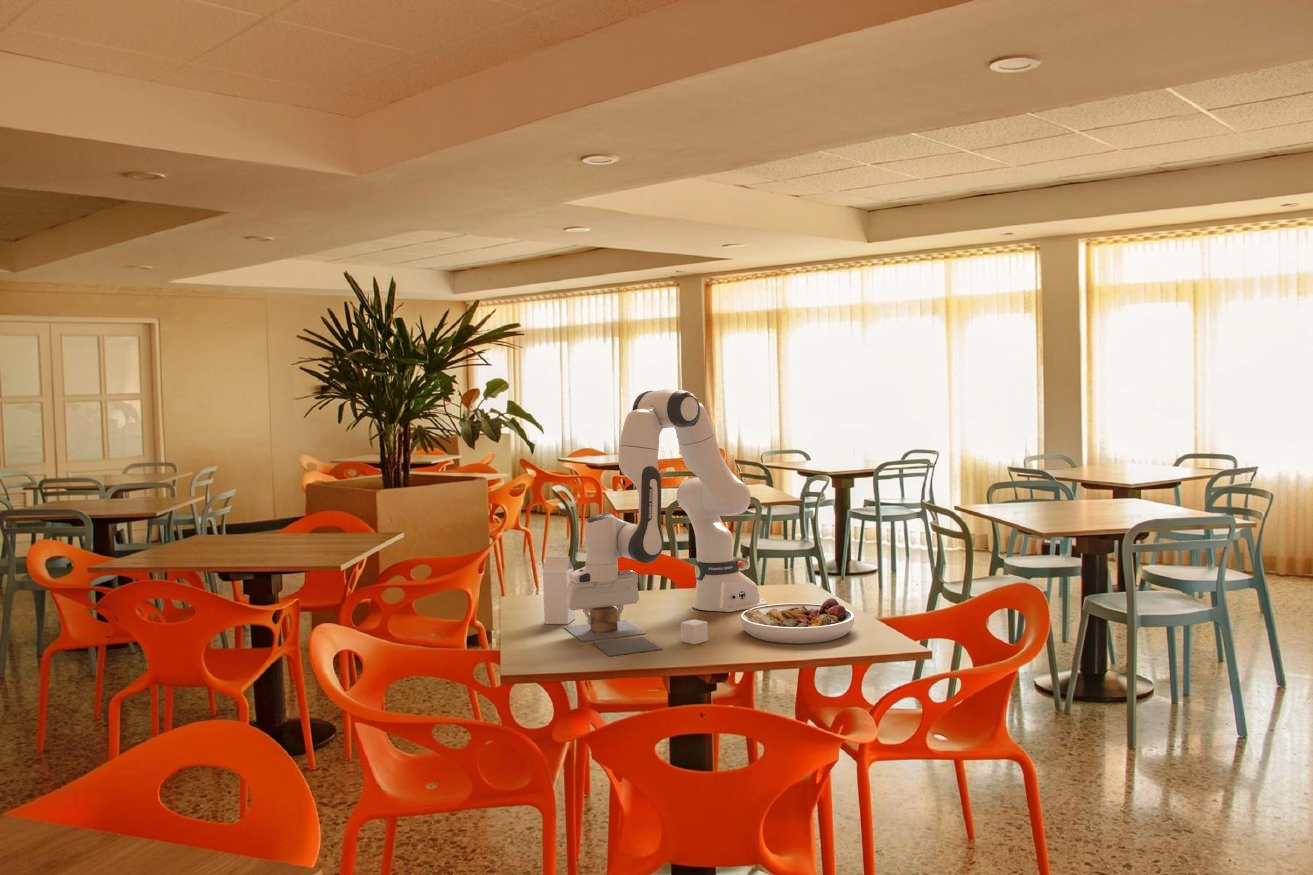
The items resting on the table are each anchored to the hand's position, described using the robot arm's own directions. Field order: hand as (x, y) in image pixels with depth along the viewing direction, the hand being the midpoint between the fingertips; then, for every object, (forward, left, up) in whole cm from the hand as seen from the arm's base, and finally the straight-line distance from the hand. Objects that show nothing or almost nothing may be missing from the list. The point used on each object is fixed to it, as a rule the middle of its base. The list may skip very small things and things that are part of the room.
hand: (603, 622), depth 276 cm
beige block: (-18, +22, -2) cm, 29 cm away
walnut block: (0, 0, -2) cm, 2 cm away
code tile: (0, 0, -2) cm, 2 cm away
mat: (0, +20, -2) cm, 20 cm away
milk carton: (+8, -17, -2) cm, 19 cm away
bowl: (-46, +26, -3) cm, 53 cm away
